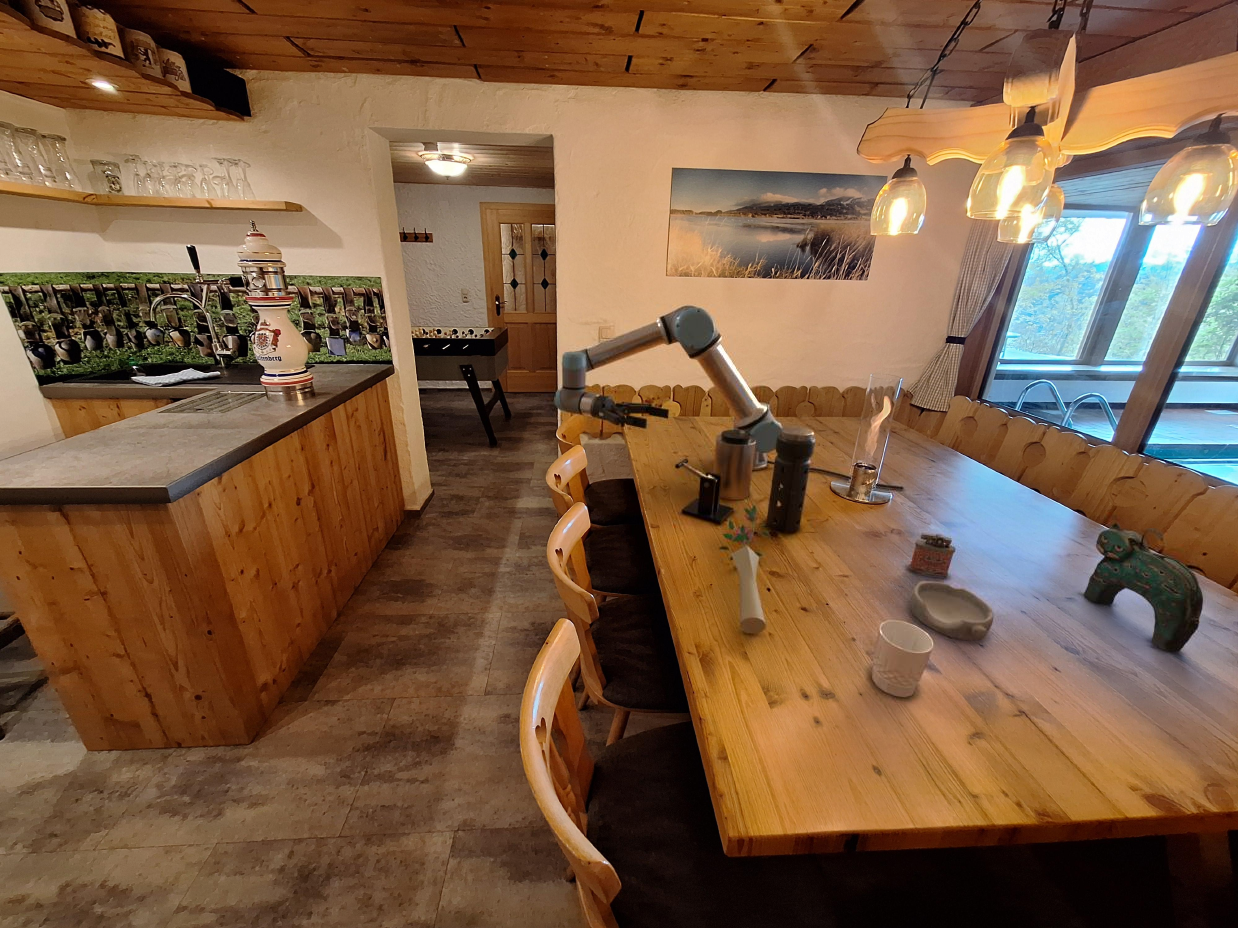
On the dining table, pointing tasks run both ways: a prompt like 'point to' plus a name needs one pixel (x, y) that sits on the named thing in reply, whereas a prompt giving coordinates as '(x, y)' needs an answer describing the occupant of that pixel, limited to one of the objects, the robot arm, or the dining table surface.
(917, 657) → the white cup
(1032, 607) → the dining table surface
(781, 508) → the muzzle brake
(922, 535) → the lighter
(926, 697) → the dining table surface
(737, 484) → the metal tumbler
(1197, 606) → the ceramic cat
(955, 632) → the dish
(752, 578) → the flower vase
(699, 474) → the switch lever
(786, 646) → the dining table surface
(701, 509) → the switch base
